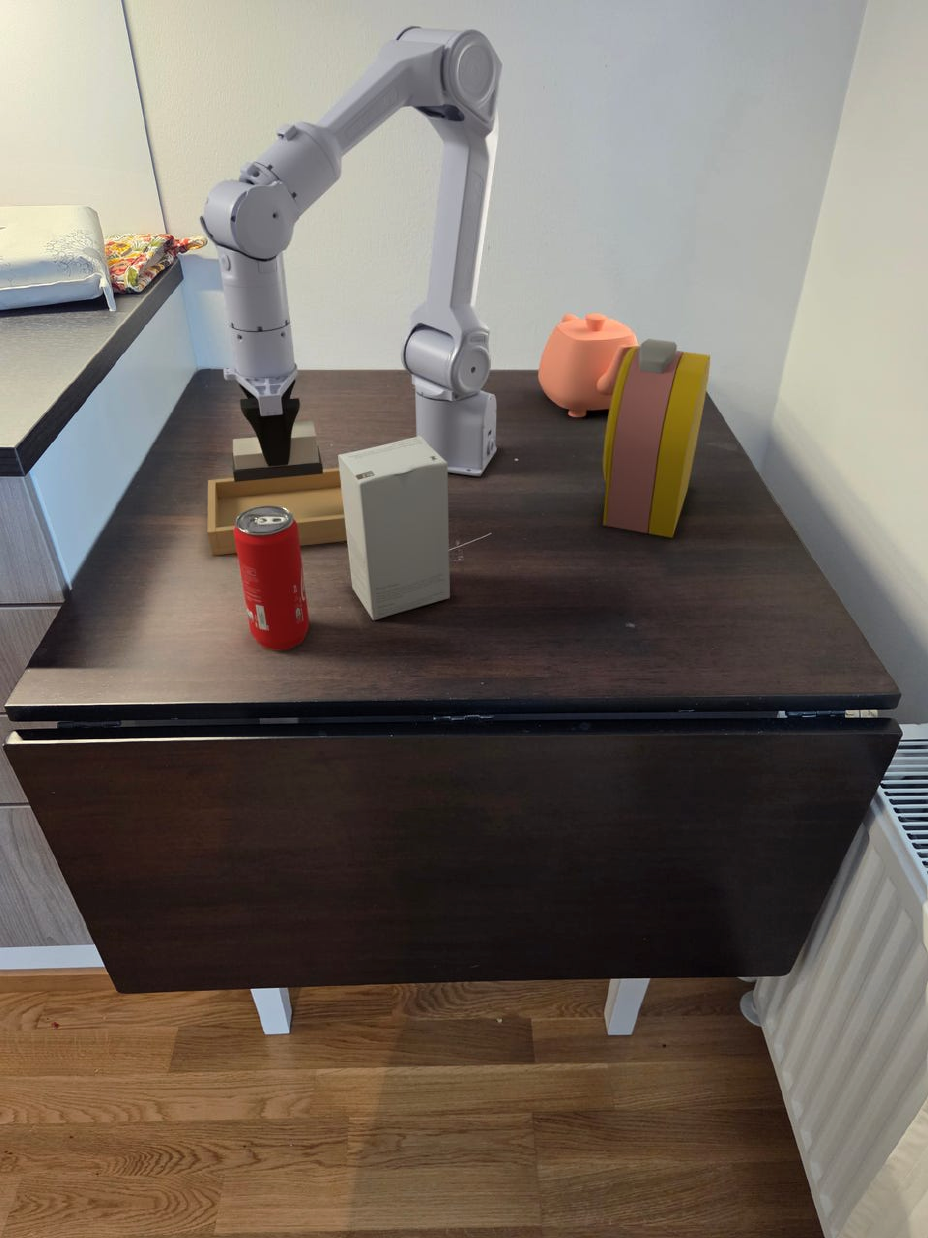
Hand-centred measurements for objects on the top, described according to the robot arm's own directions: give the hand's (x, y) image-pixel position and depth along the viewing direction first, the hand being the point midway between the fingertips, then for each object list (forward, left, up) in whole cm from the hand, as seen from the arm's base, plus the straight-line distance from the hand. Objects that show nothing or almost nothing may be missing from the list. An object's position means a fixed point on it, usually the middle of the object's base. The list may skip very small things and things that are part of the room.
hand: (276, 454), depth 91 cm
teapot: (-26, -42, -8) cm, 50 cm away
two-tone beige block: (0, 0, -2) cm, 2 cm away
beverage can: (-9, +19, -8) cm, 22 cm away
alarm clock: (-37, -15, -8) cm, 41 cm away
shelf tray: (0, 0, -8) cm, 8 cm away
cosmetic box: (-17, +10, -8) cm, 21 cm away
